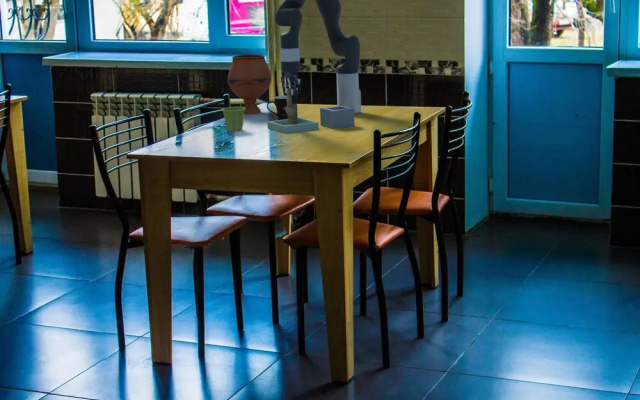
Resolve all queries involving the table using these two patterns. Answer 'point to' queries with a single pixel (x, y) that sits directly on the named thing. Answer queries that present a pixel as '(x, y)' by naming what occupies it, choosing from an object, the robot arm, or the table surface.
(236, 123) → the plant pot
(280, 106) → the coffee mug
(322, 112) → the blue storage bin
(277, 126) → the tray
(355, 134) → the table surface
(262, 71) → the goblet
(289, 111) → the dowel
